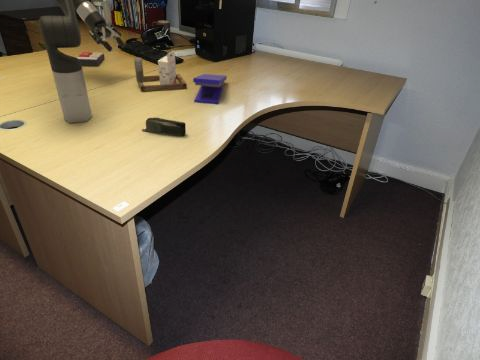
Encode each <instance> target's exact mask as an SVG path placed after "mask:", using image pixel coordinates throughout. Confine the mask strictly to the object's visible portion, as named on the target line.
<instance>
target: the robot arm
mask: <svg viewBox="0 0 480 360" xmlns="http://www.w3.org/2000/svg"><path fill="white" fill-rule="evenodd" d="M54 1H55V3H56V4H57V5H58V6H59V8H60V9H61V10H62V13H63V15H42V16H40V17H39V21H38V22H39V23H38V24H39V30H40V34H41V37H42V40H43V42H44V45H45V50H46V54H47V56H48V59H49V65H50V68H51V72H52V76H53V80H54V83H55V89H56V91H57V96H58V100H59V103H60V107H61V112H62V115H63V118H64V120H65V121H66V122H68V123H69V124H72V123H80V122H81V123H82V122H83V123H84V122H88V121H89V120H90V119H92V117H93V113H92V108H91V103H90V99H89V98H90V97H89V95H88V89H87V85H86V80H85V74H84V71H83V70H84V69H83V66H82V64H81V61H80V60H79V59H78V58H77V56H76V57H75V56H71V55H68V54H66V53H64V52H62V51H61V50H59V49H68V48H70V49H71V48H78V47H80V46H81V45H82V44H81V43H82V38H81V37H82V35H81V30H80V26H79V22H78V18H77V15H78V16H79V17H80V18H81V20H82V21H83V22H84V24H86V25H87V27H88V28H89V32H88V34H89V36H91V38H92V39H93V40H94V42H95V43H96V44H97V45H101V46H103V47H104V48H105V49H106V51H108V52H109V53H110V52H112V51H113V49H114V48H113V47H112V46H111V44H110V43H109V42H108V41H107V40H106V39H107V38H108V39H109V38H110V39H113V40H115V41H116V43H117V44H118V45H119V46H120V48H122V49H123V48H124V47H125V46H126V44H125V42H124V41H123V39H121V37H122V33H121V32H120V30H118V28H117V27H116V26H115V25H114V24H113V23H111V24H110V25H108V24H107V22H106V18H104V17H103V15H102V14H101V12H100V11H99V10H98V9H97V8H96V7H95V5H94V4H93V3H92V2H90V0H54ZM76 13H77V14H76Z"/></svg>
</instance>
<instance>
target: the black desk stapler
mask: <svg viewBox="0 0 480 360" xmlns="http://www.w3.org/2000/svg"><path fill="white" fill-rule="evenodd" d="M141 131H142V132H149V133H156V134H162V135H163V134H164V135H168V136H176V137H184V136H185V135H186V133H187V132H186V131H187V130H186V122H184V121H178V120H172V119H165V118H163V117H161V118H160V117H154V116H153V117H148V118H147V119H146V121H145V128H141Z"/></svg>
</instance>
